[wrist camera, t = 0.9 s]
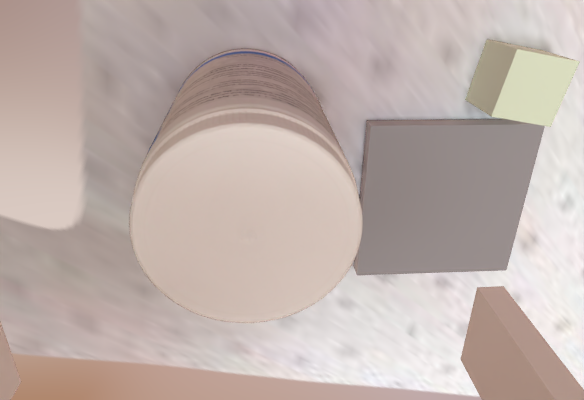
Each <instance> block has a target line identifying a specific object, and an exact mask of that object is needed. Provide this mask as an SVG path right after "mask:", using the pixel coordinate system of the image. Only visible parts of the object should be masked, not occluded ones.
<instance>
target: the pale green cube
mask: <svg viewBox="0 0 584 400" xmlns="http://www.w3.org/2000/svg"><path fill="white" fill-rule="evenodd" d="M578 64H579V61H576V60H573V59H569V58H566V57H563V56H559V55H556V54H553V53H549V52H546V51H543V50H538V49H533V48H528V47H523V46H518V45H513V44H508V43H503V42H498V41H493V40H488V39H487V40H486V43H485V46H484V48H483V51H482V54H481V57H480V60H479V62H478V65H477V68H476V71H475V74H474V77H473V79H472V82H471V85H470V88H469V91H468V93H467V96H466V99H465V100H466V101H468V102H470V103H471V104H473V105H474V106H476V107H477V108H479V109H480V110H482V111H484V112H485V113H487V114H488V115H490V116H491V117H497V118H503V119H508V120H514V121H520V122H525V123H531V124H537V125H542V126H548V127H551V125H552V123H553V120H554V118H555V116H556V114H557V111H558V109H559V107H560V105H561V102H562V100H563V98H564V96H565V94H566V91H567V89H568V87H569V85H570V82H571V80H572V78H573V76H574V73H575V71H576V69H577V67H578Z"/></svg>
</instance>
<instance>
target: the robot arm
mask: <svg viewBox="0 0 584 400" xmlns="http://www.w3.org/2000/svg"><path fill="white" fill-rule="evenodd" d="M461 361H462V363H463V365H464V367H465V369H466V370H467V372H468V374H469V376H470V378H471V380H472V382H473V384H474V386H475V388H476V389H477V391H478V393H479V395H480V397H481V399H482V400H584V390H583V388H582V387H581V386H580V384H579V383H578V382H577V381H576V379H575V378H574V377H573V375H572V374H571V373H570V372H569V370H568V369H567V368H566V366H565V365H564V364H563V363H562V361H561V360H560V359H559V357H558V356H557V355H556V354H555V352H554V351H553V350H552V348H551V347H550V346H549V344H548V343H547V342H546V341H545V339H544V338H543V337H542V335H541V334H540V333H539V332H538V330H537V329H536V328H535V326H534V325H533V324H532V323H531V321H530V320H529V319H528V317H527V316H526V315H525V314H524V312H523V311H522V310H521V308H520V307H519V306H518V305H517V303H516V302H515V301H514V299H513V298H512V297H511V296H510V294H509V293H508V292H507V290H506V289H505V288H504V286H501V287H477V291H476V295H475V300H474V304H473V308H472V313H471V317H470V321H469V326H468V330H467V334H466V338H465V343H464V347H463V351H462V356H461ZM20 383H21V380H20V377H19V374H18V371H17V368H16V365H15V362H14V359H13V356H12V354H11V351H10V348H9V345H8V342H7V339H6V336H5V334H4V331H3V328H2V325H1V322H0V400H11V399H12V397H13V395H14V394H15V392H16V390H17V388H18V387H19V385H20Z"/></svg>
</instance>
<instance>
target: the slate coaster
mask: <svg viewBox="0 0 584 400" xmlns="http://www.w3.org/2000/svg"><path fill="white" fill-rule="evenodd" d="M543 130H544V126H542V125H537V124H531V123H525V122H520V121H514V120H508V119H476V120H367V125H366V136H365V147H364V159H363V170H362V181H361V192H360V204H361V209H362V219H363V225H362V236H361V241H360V245H359V248H358V251H357V254H356V256H355V260H354V268H355V271H356V274H357V275H377V274H407V273H438V272H468V271H498V270H506V269H507V265H508V262H509V258H510V254H511V250H512V247H513V243H514V239H515V235H516V232H517V228H518V224H519V220H520V217H521V213H522V209H523V205H524V202H525V198H526V194H527V190H528V187H529V183H530V179H531V175H532V172H533V168H534V164H535V160H536V157H537V153H538V149H539V145H540V141H541V138H542V134H543Z"/></svg>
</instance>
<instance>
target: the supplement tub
mask: <svg viewBox="0 0 584 400" xmlns="http://www.w3.org/2000/svg"><path fill="white" fill-rule="evenodd" d="M362 225H363V219H362V209H361V204H360V199H359V195H358V190H357V186H356V182H355V179H354V176H353V173H352V171H351V168H350V166H349V164H348V162H347V160H346V158H345V155H344V153H343V151H342V149H341V147H340V145H339V143H338V141H337V139H336V137H335V135H334V133H333V131H332V129H331V126H330V124H329V122H328V120H327V118H326V116H325V114H324V112H323V110H322V108H321V106H320V104H319V102H318V100H317V97H316V95H315V93H314V91H313V90H312V88H311V86H310V85H309V83H308V82H307V80H306V79H305V78H304V77H303V75H302V74H301V73H300V72H299V71H298V70H297V69H296V68H295V67H294V66H292V65H291V64H290V63H288V62H287V61H285V60H284V59H282V58H280V57H278V56H276V55H274V54H271V53H268V52H264V51H260V50H253V49H237V50H231V51H226V52H223V53H220V54H218V55H215V56H213V57H211V58H209V59H208V60H206V61H204V62H203V63H202V64H200V65H199V66H198V67H197V68H196V69H195V70H194V71H193V72H192V73H191V74H190V75H189V76H188V78H187V79H186V80H185V82H184V83H183V85H182V87H181V89H180V90H179V92H178V94H177V96H176V98H175V100H174V102H173V104H172V106H171V108H170V110H169V112H168V114H167V116H166V118H165V120H164V122H163V124H162V126H161V128H160V130H159V131H158V133H157V135H156V137H155V139H154V141H153V143H152V145H151V147H150V149H149V151H148V153H147V156H146V158H145V160H144V162H143V165H142V167H141V169H140V172H139V175H138V179H137V182H136V185H135V189H134V194H133V200H132V204H131V209H130V218H129V228H130V237H131V242H132V246H133V250H134V253H135V255H136V258H137V260H138V262H139V264H140V266H141V268H142V270H143V271H144V273H145V274H146V275H147V277H148V278H149V279H150V281H151V282H152V283H153V284H154V285H155V286H156V287H157V288H158V289H159V290H160V291H161V292H162V293H163V294H164V295H166V296H167V297H168V298H169V299H171V300H172V301H173V302H175V303H177V304H178V305H180V306H182V307H184V308H186V309H188V310H189V311H191V312H194V313H196V314H199V315H202V316H205V317H208V318H212V319H216V320H220V321H226V322H236V323H254V322H265V321H270V320H275V319H279V318H283V317H286V316H289V315H292V314H295V313H297V312H300V311H302V310H304V309H306V308H308V307H310V306H311V305H313V304H315V303H316V302H318V301H319V300H320V299H322V298H323V297H325V296H326V295H327V294H328V293H329V292H330V291H331V290H332V289H333V288H334V287H335V286H336V285H337V284H338V283H339V282H340V281H341V280H342V279H343V277H344V276H345V275H346V273H347V271H348V270H349V268H350V267H351V265H352V263H353V261H354V259H355V256H356V254H357V251H358V248H359V245H360V241H361V236H362Z"/></svg>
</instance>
